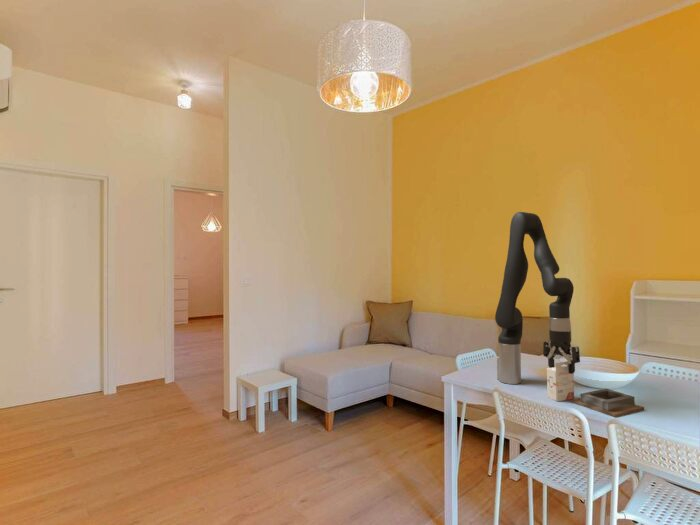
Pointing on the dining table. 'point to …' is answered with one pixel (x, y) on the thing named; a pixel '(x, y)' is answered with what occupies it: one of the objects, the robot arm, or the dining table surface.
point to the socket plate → (614, 412)
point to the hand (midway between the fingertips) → (561, 370)
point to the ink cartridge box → (560, 382)
